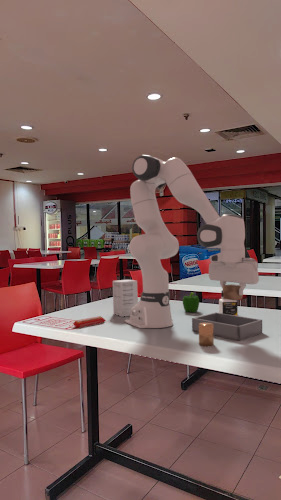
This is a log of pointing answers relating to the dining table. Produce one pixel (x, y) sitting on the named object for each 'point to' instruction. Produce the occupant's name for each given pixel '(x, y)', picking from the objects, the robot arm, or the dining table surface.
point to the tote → (230, 325)
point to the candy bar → (88, 321)
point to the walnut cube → (231, 292)
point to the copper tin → (206, 334)
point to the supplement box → (124, 296)
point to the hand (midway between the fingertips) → (232, 294)
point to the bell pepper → (191, 303)
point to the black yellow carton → (228, 306)
